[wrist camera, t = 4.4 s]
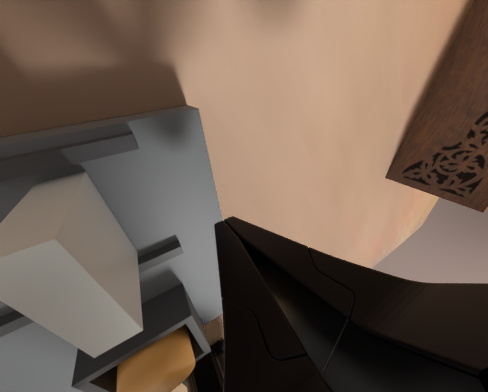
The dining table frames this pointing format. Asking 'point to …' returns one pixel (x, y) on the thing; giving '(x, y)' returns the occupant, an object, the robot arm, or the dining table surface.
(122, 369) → the push button
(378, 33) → the dining table surface
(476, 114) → the tissue box cover
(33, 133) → the panel
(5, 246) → the grey angular block
